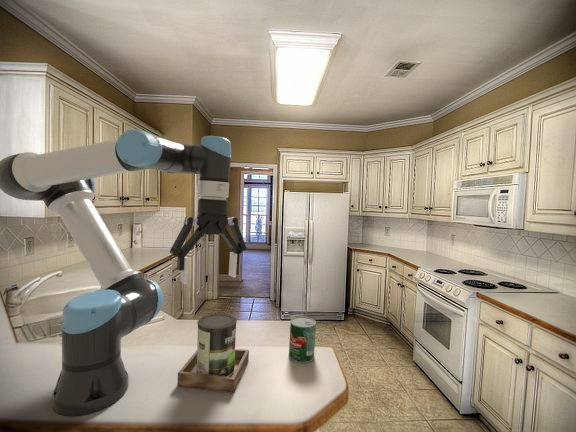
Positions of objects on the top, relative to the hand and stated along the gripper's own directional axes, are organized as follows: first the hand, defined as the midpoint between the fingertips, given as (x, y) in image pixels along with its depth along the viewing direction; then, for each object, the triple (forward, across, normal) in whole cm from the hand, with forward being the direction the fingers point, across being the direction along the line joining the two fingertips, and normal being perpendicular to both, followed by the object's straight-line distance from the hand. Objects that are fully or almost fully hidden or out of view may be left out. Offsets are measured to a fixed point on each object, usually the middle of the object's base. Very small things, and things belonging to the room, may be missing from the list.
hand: (209, 279), depth 79 cm
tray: (+26, +3, 0) cm, 26 cm away
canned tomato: (+26, +28, -8) cm, 39 cm away
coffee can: (+26, +3, 0) cm, 26 cm away
